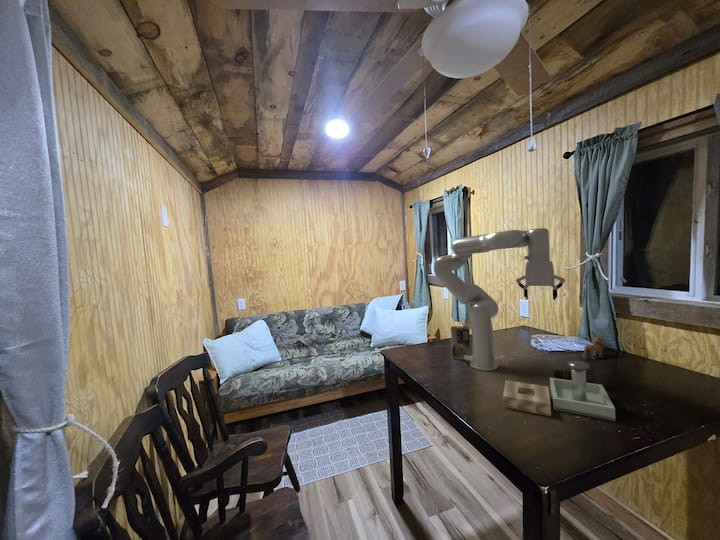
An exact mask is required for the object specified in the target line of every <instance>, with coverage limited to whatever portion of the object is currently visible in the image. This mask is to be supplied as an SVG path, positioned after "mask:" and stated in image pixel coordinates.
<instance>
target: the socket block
mask: <svg viewBox="0 0 720 540" xmlns="http://www.w3.org/2000/svg"><path fill="white" fill-rule="evenodd" d="M504 382H505V383H504V388H503V393H502V401H503V402H502V403H503V408H506V409H511V410H517V411H522V412H528V413H533V414H537V415H543V416H547V417H552V410H551V409H552V407H551V406H552V404H551V399H550V391H549V390H550V389H549V386H547V385H546V386H545V385H540V384H533V383H526V382H521V381H513V380H507V379H505V381H504Z"/></svg>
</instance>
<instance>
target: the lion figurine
mask: <svg viewBox="0 0 720 540" xmlns="http://www.w3.org/2000/svg"><path fill="white" fill-rule="evenodd" d="M604 348H605V344H604V340H603V339H602V338H601V337H599V336H596V337H594V338H593V339H592V344H586V345H584V351H583V353H582V359H584V360H587V359H588V356H587V352H589V354H590V357H591V359H593V360H596V357H595V356H597V352H598V353H599V357H600V358H604V356H603V350H604Z"/></svg>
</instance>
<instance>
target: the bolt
mask: <svg viewBox="0 0 720 540" xmlns="http://www.w3.org/2000/svg"><path fill="white" fill-rule="evenodd" d="M553 376H554V377H553V378H557V379H564V380H571V381H572V373H571V371H570V369H565V368H564V369H563V370H560V369H555V370H553ZM601 380H602V379H601V375H600V374H599V373H598V372H595V373H594V374H591V375H590V374H586V383H593V384H600V385H602V384H601V383H602V381H601Z"/></svg>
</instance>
